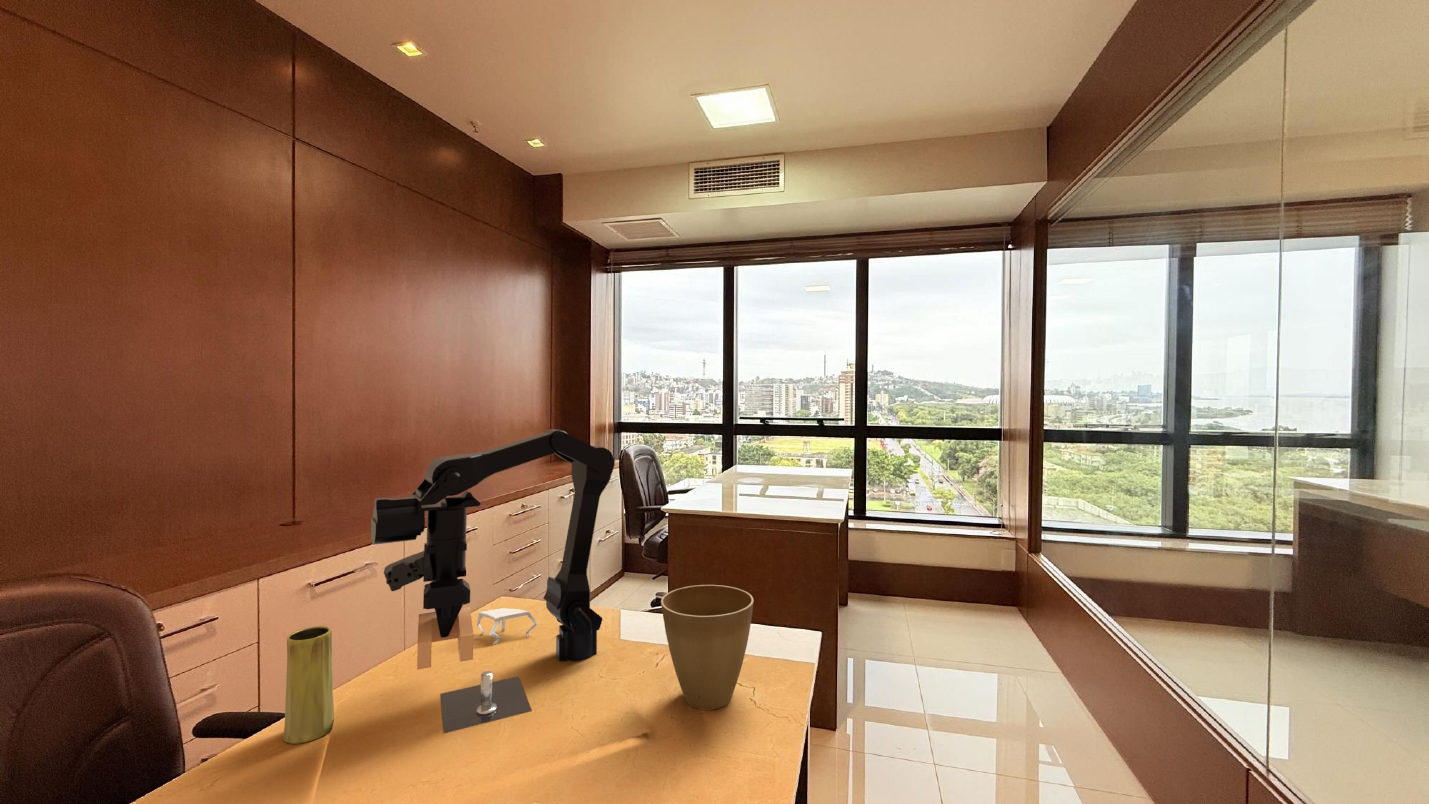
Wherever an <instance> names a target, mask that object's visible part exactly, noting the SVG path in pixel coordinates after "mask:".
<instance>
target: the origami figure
mask: <svg viewBox="0 0 1429 804" xmlns="http://www.w3.org/2000/svg"><path fill="white" fill-rule="evenodd" d="M523 616H527V617H528V618H529V619H530V620H531V621H532V623H533V625H532V626H531V627H529V629H527V630H526V631H525V634H526V636H525V637H526V638H529V637H530V631H532V630H533V629H535V628H536V627H537V626H538V625H539V623H538V622H537V621H536V620H535V618H534V616H533V615H532V614H531V612H530V611H529V610H528V611H527V610H524V609H518V608H505V607H501V608H495V609H489V610H484V611H483V610H482V611H478V616H477V622H476V626H477V627H478V629H480V630H479V631H481V633H480V635H481V636H483V634H484V633H485V631H484V629H483V626H481V624H480V623H481V621H482V619H483V617H484V618H488V619H491V620H493V621H494V624H493V626H492V628H491V629H490V631H489V633H488V636H490V637H492V638H495V640H494V642H493V643H492V645H493V646H494V645H497V644H498V643H499V641H500V640H501V638H502V637H501V635H499V634H497V633H496V632H497V628H498V626H499V624H500V623H501V632H505V631H506V620H509V619H515V618H518V617H523Z"/></svg>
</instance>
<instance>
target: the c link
mask: <svg viewBox="0 0 1429 804" xmlns="http://www.w3.org/2000/svg"><path fill="white" fill-rule="evenodd" d="M417 621H418V623H417V624H418V626H417V653H416V654H417V656H416V657H417V659H416V662H417V664H416V670H417V671H418V670H424V669H429V668H432V649H433V648H432V647H433V646H432V645H433V643H436V642H442V641H448V640H455V639H457V645H458V655H459V662H460V663H461V662H462V663H463V662H466V661H467V662H469V661H471V660H474V639H475V638H474V635H475V634H474V628H473V627H474V626H473V622H472V621H473V620H472V613H471V606H468V607H462V608H461V610H460V612H459V614H458V616H457V618H456V621H455V623H454V625H453V627H452V629H451V632H450V634H449V636H448V637H443V638H441V636H440V631H439V627H438V622H437V617H436V612H435V611H431V612H426V613H425V612H424V613H419V614H418V620H417Z"/></svg>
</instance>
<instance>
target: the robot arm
mask: <svg viewBox="0 0 1429 804" xmlns="http://www.w3.org/2000/svg"><path fill="white" fill-rule="evenodd" d="M553 454H555V455H556V456H558V457H560V458H561V459H562V460H565V461H566V462H568V463H570V464H571V480H572V485H573V489H574V493H573V495H574V496H573V500H572V501H573V502H572V507H571V513H570V518H569V523H568V528H567V534H566V539H565V546H564V551H563V556H562V557H563V558H562V560H561V567H560V570H559V572H558V573H557V575H556V576H555V577H551V576H549V577H547V580H546V591H545V594H544V596H543V597H542V599H543V600H544V601H545V604H546V605H545V606H546V609H547V610H548V612H549V613H550V614H551V615H552V616H554V617H555V618H556V621H557V622H558V623H560V624H561V625H559V627H558V628H559V629H558V632H559V633H558V634H557V635H556V636H555V639H556V640H555V648H556V651H555V656H556V658H557V661H559V662H567V661H568V662H581V661H585V660H587V659H590V658H591V657H593V656H596V655H597V657H598V656H599V655H598V645H597V644H598V633H597V632H598V631H599V630H600V629H601V626H602V622H603V617H602V616H601V615H599V614H598V613H597V612H596V611H594V610H593V609H592V608H591V588H590V583H589V577H588V567H589V561H590V556H591V549H592V544H593V539H594V532H595V527H596V520H597V514H598V510H599V504H600V498H601V495H602V494H603V492H604V490H605V489H606V487H607V486H608V484H609V483H610V480H611V478H612V474H613V471H614V468H615V463H616V460H615V456H614V454H612V452H611V451H610V450H609V449H608V448H605V447H601V446H595V445H591V444H590V443H587V442H586V441H585V442H584V441H583V440H580V439H578V438H577V437H575V436H572V435H570V434H569V433H567V432H566V431H564V430H562V429H561V430H560V429H554V428H553V429H547V430H546V431H544V432H543V433H539V434H535V435H532V436H529V437H526V438H523V439H519V440H517V441H513V442H510V443H507V444H504V445H501V446H497V447H494V448H491V449H488V450H484V451H480V452H479V451H478V452H471V453H470V452H469V453H459V454H453V455H446V456H445V455H444V456H439V457H437V458H435V459H432V461H431V462H430V463H429V464H428V466H427V468H426V470H425V475H424V476H425V477H424V478H423V480H422V481H421V482H420V483H419V485H418V486H417V487H416V488H415V489H414V491H413V492H412V494H410V496H405V497H403V496H402V497H391V498H389V497H376V498H375V499H374V506H373V510H372V517H371V519H370V538H371V539H370V540H371V543H372V545H383V544H392V543H393V544H394V543H400V542H408V541H415V540H416V539H417V538H418V536H421V535H422V533H424V532H425V526H426V542H424V543H423V544H424V545H423V547H424V548H423V551H420V552H417V553H414V554H411V555H409V556H405V557H404V558H402V559H399V560H397V561H394V562H392V563H391V562H390V564H388V565H386V566H385V567H384V570H383V574H384V575H383V576H384V577H385V580H386V581H385V583H386V585H388V587H389V590H390V592H396V591H399V590H401V589H402V588H403V587H404V586H407V585H409V584H411V583H414V582H417V581H419V580H420V579H422V578H423V582H426V584H424V588H423V602H422V603H423V605H422V606H423V607H422V608H423V610H424V609H425V610H434V612H436V617H437V622H438V627H439V631H440V636H441V638H443V637H448V636H449V634H450V632H451V629H452V627H453V625H454V623H455V621H456V618H457V616H458V614H459V612H460V610H461V608H463V606H464V605H468V604H470V603H471V587H470V584H469V582H467V581H466V580H465V579H464V577H466V576H467V567H466V560H467V559H466V557H467V556H466V553H467V549H468V543H467V513H468V512H467V509H468V508H475V507H480V506H481V504H482V503H481V501H479V500H477V498H475V497H474V495H473V494H472V492H470V491H468V490H470V489H471V488H473V487H475V486H478V485H479V484H480V483H482V482H483V481H484V480H485V479H487V478H489V477H490V476H492V475H494V474H497V473H500V472H503V471H506V470H509V469H512V468H514V467H518V466H521V465H524V464H526V463H529V462H530V463H531V462H532V461H535V460H539V459H541V458H544V457H546V456H549V455H553ZM462 577H463V578H462ZM427 582H429V583H427Z"/></svg>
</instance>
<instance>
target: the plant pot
mask: <svg viewBox="0 0 1429 804" xmlns="http://www.w3.org/2000/svg"><path fill="white" fill-rule="evenodd" d="M660 604H661V605H660V606H661V612H662V617H663V626H664V629H665V631H664V632H665V635H666V639H667V640H666V641H667V644H668V645H667V646H668V649H669V653H670V658H671V661H672V665H673V667H674V671H675V674H676V678H677V680H678V683H679V686H680V688H681V692H682V694H683V697H684V699H685V701H686V703H687V704H688V705H689V706H690V707H692V708H695V709H699V710H705V711H707V710H708V711H710V710H716V709H717V710H718V709H721V708H723V707H725V706H727V705H728V704H729V703H730V701H731V699H732V697H733V694H734V692H735V688H736V686H737V683H738V679H739V677H740V674H741V670H742V665H743V662H744V659H745V654H746V651H747V650H746V649H747V646H748V642H749V641H748V640H749V637H750V636H749V635H750V631H751V624H752V618H753V611H754V610H753V608H754V597H753V595H752V594H751V593H749V592H748V591H745V590H743V589H742V588H741V589H740V588H737V587H735V586H734V587H733V586H727V585H716V584H699V585H689V586H684V587H680V588H676V589H673V590H671V591H669V592H667V593H666V594H665V595H663V596H662V598H661V600H660Z"/></svg>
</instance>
